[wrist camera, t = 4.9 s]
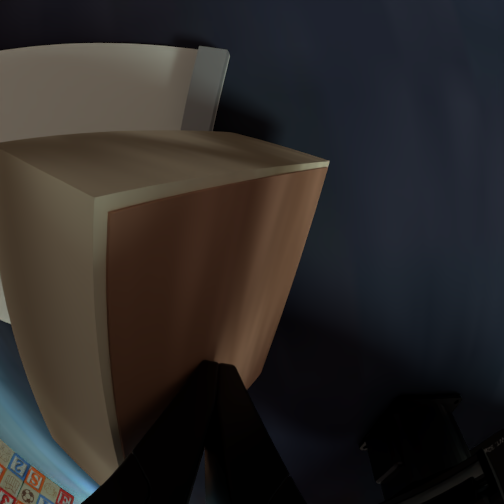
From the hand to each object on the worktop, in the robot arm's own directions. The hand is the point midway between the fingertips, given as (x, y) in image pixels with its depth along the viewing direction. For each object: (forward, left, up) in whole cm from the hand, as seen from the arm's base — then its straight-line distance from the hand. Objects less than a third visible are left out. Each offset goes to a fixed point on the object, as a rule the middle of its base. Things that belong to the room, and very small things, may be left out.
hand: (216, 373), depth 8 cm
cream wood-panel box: (-1, 0, -6) cm, 6 cm away
